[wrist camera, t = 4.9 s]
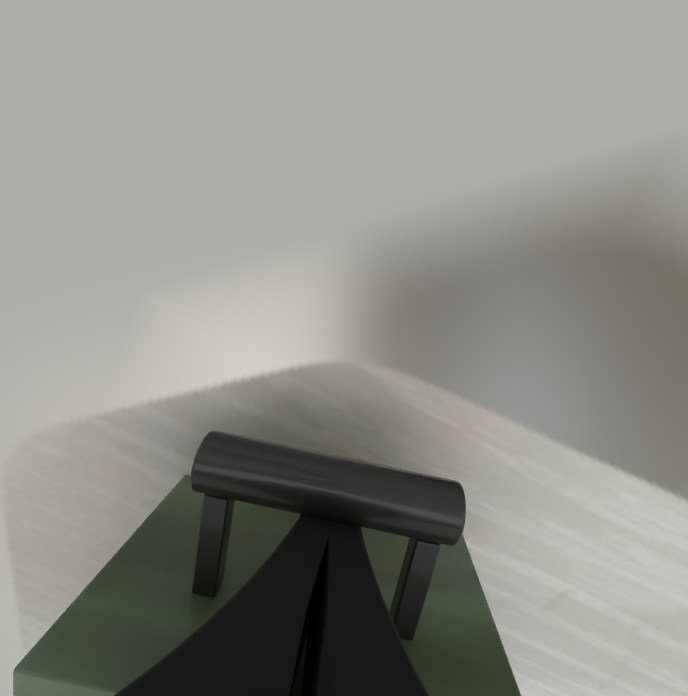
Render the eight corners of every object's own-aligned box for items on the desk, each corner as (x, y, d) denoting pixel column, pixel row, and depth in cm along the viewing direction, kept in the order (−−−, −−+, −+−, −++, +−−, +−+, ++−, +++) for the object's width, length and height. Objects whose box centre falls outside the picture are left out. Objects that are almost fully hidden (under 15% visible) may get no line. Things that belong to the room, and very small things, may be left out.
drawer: (197, 366, 13) (10, 472, 6) (494, 427, 12) (641, 607, 6) (159, 705, 16) (13, 1013, 9) (393, 757, 16) (412, 1108, 9)
